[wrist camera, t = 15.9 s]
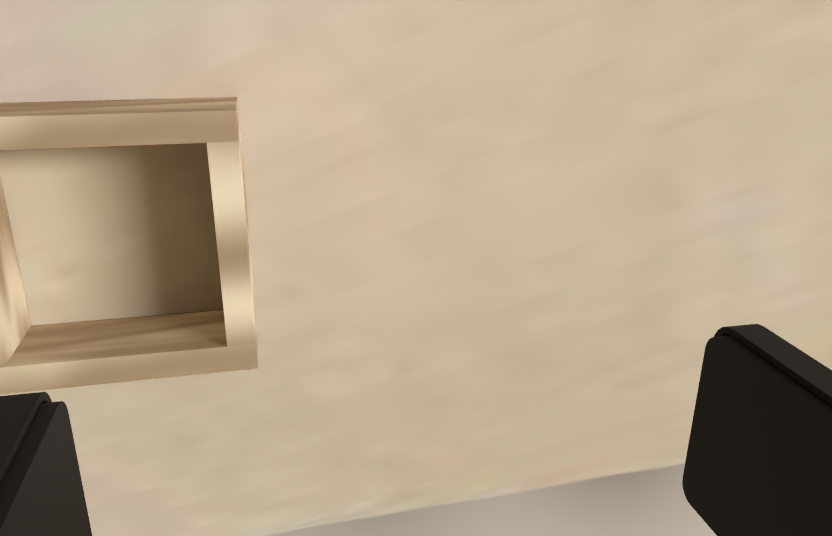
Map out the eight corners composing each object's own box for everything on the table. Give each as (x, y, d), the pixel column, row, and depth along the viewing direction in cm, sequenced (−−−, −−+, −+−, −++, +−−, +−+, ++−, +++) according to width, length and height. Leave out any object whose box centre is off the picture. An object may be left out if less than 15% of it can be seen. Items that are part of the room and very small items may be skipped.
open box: (-48, 104, 36) (-91, 119, 31) (237, 97, 39) (235, 110, 34) (7, 352, 41) (-23, 396, 36) (256, 329, 44) (257, 368, 39)
